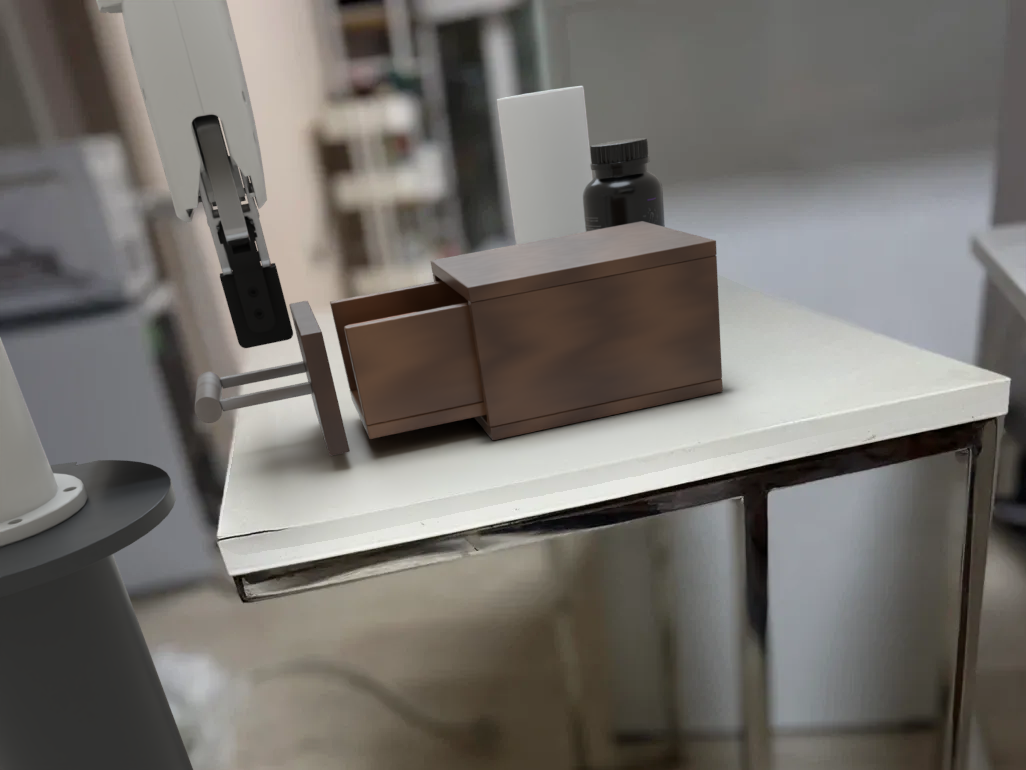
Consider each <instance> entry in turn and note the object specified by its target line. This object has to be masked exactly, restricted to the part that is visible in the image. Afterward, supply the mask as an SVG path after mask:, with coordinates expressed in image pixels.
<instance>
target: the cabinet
mask: <svg viewBox="0 0 1026 770" xmlns="http://www.w3.org/2000/svg"><path fill="white" fill-rule="evenodd" d="M717 257H718V256H717V240H715V239H711V238H708V237H705V236H700V235H697V234H693V233H689V232H685V231H682V230H677V229H673V228H670V227H667V226H665V227H663V226H659V225H655V224H651V223H647V222H644V221H641V222H635V223H630V224H624V225H619V226H614V227H608V228H603V229H598V230H592V231H587V232H581V233H576V234H571V235H565V236H560V237H555V238H549V239H544V240H538V241H533V242H528V243H522V244H517V245H516V244H512V245H511V244H510V245H507V246H501V247H496V248H491V249H486V250H480V251H475V252H474V251H473V252H469V253H462V254H459V255H453V256H447V257H442V258H437V259H432V260H430V266H431V273H432V279H433V282H435V281H441V280H442V281H443V282H445V283H446V284H447V285H449V286H450V287H451V288H453V289H454V290H455V291H456V292H458V293H459V294H460V295H462V296H463V297H464V298H465V299H467V300H468V305H469V312H470V318H471V324H472V330H473V336H474V342H475V349H476V355H477V361H478V367H479V373H480V379H481V386H482V392H483V398H484V404H485V410H486V415H483V416H478V417H473V418H474V419H475V421H476V422H477V423H478V424H479V425H480V427H481V428H482V430H483V431H484V432H485V433H486V434H487V435H488V437H489V438H490V439H491V440H492V441H497V440H501V439H506V438H511V437H515V436H520V435H525V434H529V433H534V432H540V431H544V430H549V429H554V428H558V427H563V426H568V425H572V424H577V423H582V422H586V421H591V420H595V419H600V418H605V417H609V416H615V415H619V414H624V413H628V412H634V411H638V410H642V409H643V410H644V409H647V408H652V407H656V406H660V405H666V404H671V403H676V402H681V401H684V400H689V399H694V398H699V397H703V396H708V395H709V396H710V395H713V394H718V393H722V392H724V391H723V390H724V389H723V369H722V368H723V367H722V346H721V345H722V344H721V323H720V302H719V278H718V263H717V262H718V259H717Z"/></svg>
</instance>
